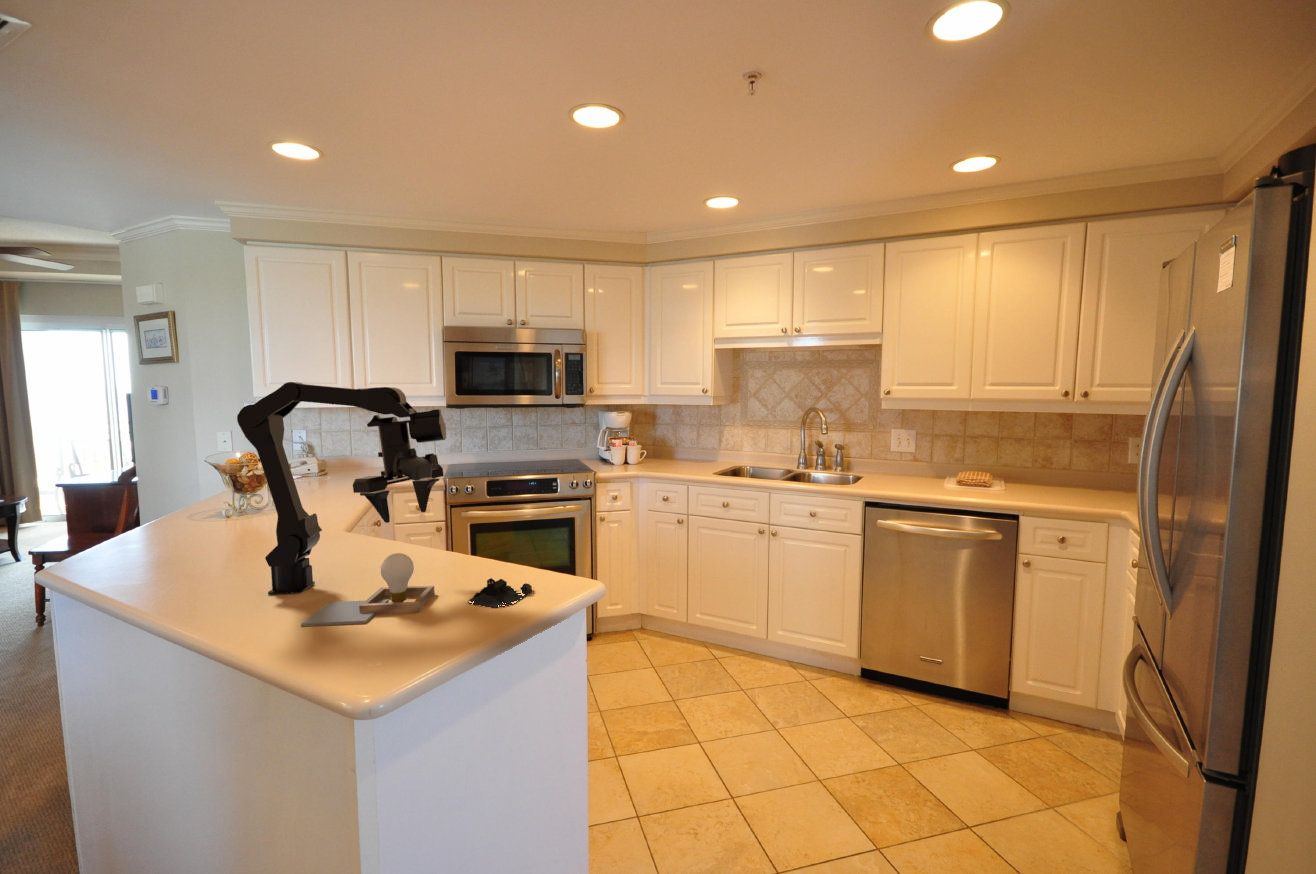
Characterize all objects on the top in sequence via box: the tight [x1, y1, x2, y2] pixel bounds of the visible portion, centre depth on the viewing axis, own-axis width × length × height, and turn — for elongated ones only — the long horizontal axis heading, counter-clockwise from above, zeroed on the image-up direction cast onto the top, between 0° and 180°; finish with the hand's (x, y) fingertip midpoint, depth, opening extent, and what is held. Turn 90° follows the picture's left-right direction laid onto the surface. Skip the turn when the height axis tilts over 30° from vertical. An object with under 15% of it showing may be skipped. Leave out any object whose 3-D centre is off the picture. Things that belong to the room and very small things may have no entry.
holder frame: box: [359, 584, 436, 616], centre depth 115 cm, size 10×10×2 cm
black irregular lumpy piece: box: [468, 577, 533, 609], centre depth 119 cm, size 12×10×5 cm
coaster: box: [300, 599, 390, 627], centre depth 111 cm, size 11×11×1 cm
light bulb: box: [380, 552, 415, 603], centre depth 115 cm, size 6×6×10 cm
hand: (405, 517), depth 128 cm, fingers open, 9 cm apart
